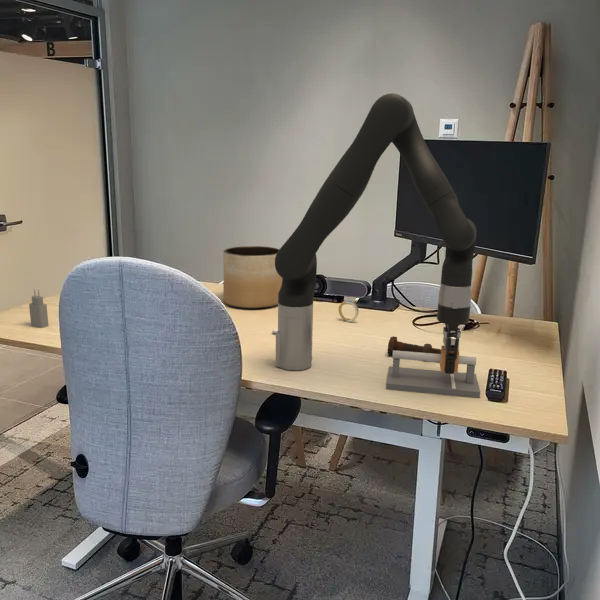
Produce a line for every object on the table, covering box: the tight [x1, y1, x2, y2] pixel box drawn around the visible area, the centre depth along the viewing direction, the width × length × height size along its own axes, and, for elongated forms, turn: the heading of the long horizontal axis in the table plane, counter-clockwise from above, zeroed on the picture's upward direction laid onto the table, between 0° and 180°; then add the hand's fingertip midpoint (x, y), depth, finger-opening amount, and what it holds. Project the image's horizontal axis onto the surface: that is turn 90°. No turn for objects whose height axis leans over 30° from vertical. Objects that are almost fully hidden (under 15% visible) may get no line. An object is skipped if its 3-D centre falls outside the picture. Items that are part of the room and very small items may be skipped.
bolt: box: [387, 336, 441, 357], centre depth 164 cm, size 6×5×15 cm
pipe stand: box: [385, 350, 481, 399], centre depth 145 cm, size 22×12×8 cm, turn 79°
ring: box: [338, 298, 359, 323], centre depth 197 cm, size 7×3×8 cm, turn 53°
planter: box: [222, 245, 283, 310], centre depth 218 cm, size 22×22×20 cm
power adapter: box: [28, 288, 49, 329], centre depth 186 cm, size 3×5×12 cm, turn 61°
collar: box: [439, 345, 460, 373], centre depth 143 cm, size 4×5×5 cm
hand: (448, 368), depth 144 cm, fingers closed on collar, 5 cm apart
